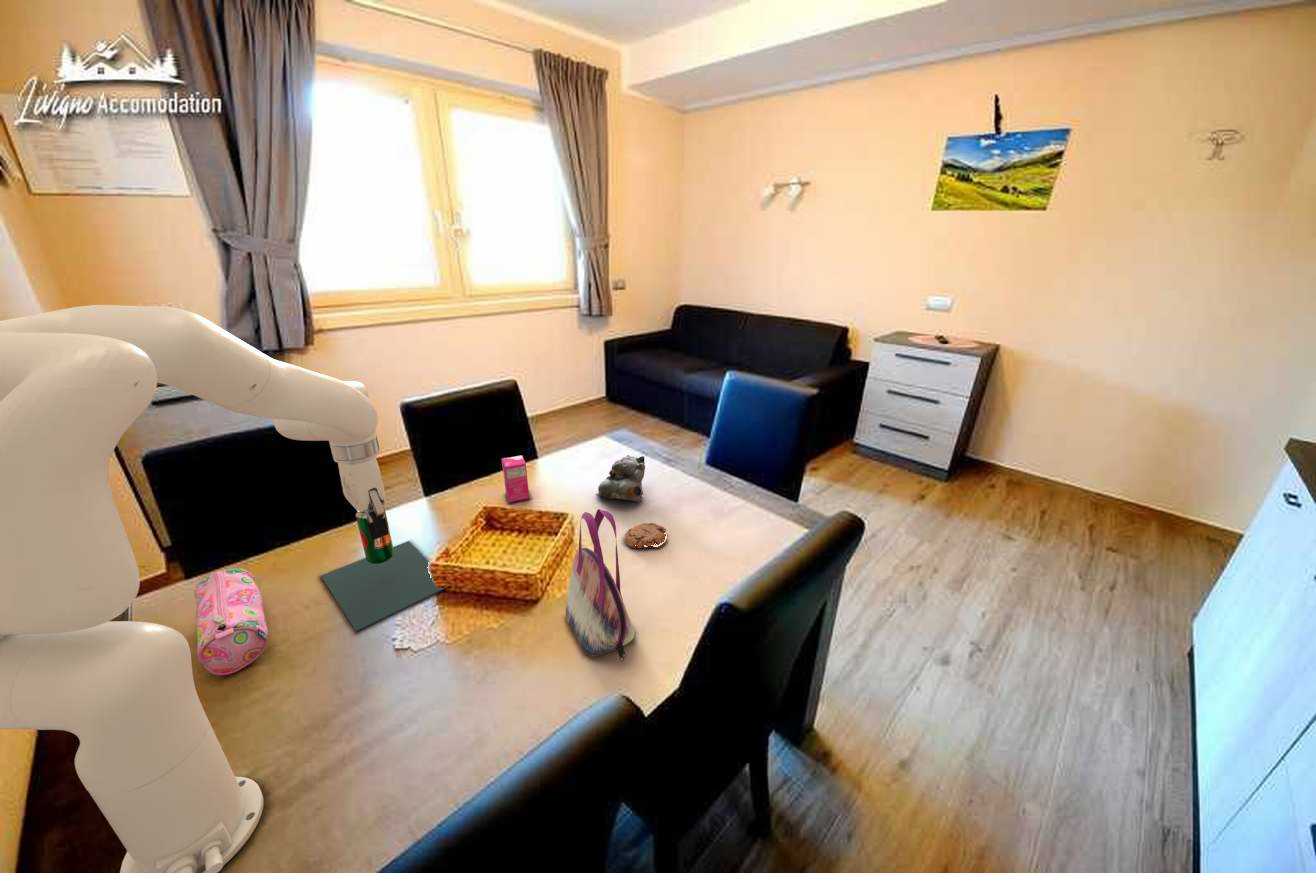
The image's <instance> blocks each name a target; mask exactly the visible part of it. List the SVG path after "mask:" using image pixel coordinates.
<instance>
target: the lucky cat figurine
mask: <svg viewBox="0 0 1316 873" xmlns="http://www.w3.org/2000/svg"><path fill="white" fill-rule="evenodd" d="M645 472H646V463H645V456H644V455H642V456H638V457H636V456H634V455H630V454H629V455H628V454H627V455H626V456H623V457H621V458H620V459H617V460H615V462H614V463H613V464H612V466H611V469H610V470H609V471H608V475H609V476H607V477H606V478H605V479H603V481H602V482H601V483H600V484H599V485H598V487H597V489H598V492H597V493H595V494H594V495H595V496H596V497H599V498H600V497H603V498H607V499H618V500H625V501H632V502H639V503H641V502H642V499H643V497H642V495H643V496H644V490H643V484H642V483H643V479H644V478H645Z"/></svg>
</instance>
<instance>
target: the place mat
mask: <svg viewBox="0 0 1316 873" xmlns="http://www.w3.org/2000/svg"><path fill="white" fill-rule="evenodd" d="M393 549H394V554H393V556H392V557H391V558H390V559H389V560H388V561H386V562H384V563H380V564H372V563H370V562H368V561H367V560H366V557H365V558H362V559H360V560H357V561H354V562H352V563H349V564H347V565H344V566H342V567H340V568H337V569H333V570H331V571H329V572H327V573H324V574H322V575H320V578H321V579H322V581H323V582H324V584H325V586H326V587H327V588H328V591H329V592H330V594H331V596H332V597H333V599H334V600H335V602H336V603H337V604H338V606H339V607H340V609H341V610H342V612H343V614H344V615H345V617H346V618H347V620H348V622H349V623H350V625H351V627H353V630H354V631H355V632H356V633H359V632H361V631H363V630H364V629H367V628H369V627H370V626H373V625H375V624H378V623H379V622H381V621H383V620H385V619H387V618H389V617H391V616H393V615H395V614H397V613H400V612H402V611H403V610H406V609H407V608H410V607H411V606H414V605H416V604H418V603H420V602H422V601H424V600H426V599H428V598H430V597H432V596H435V595H437V594H439V593H440V592H442V591H443V592H444V590H447V589H448V588H441V587H440V588H439V587H436V586H435V585H434V583H433V581H432V578H430V574H429V573H428V568H427V567H428V562H430V561H429V560H428V559H427V558H426V557H425V556H424V555H423V554H422V553H421V552H420V551H419V550H418V549H417V548H416V547H415V546H414V544H412V543H411V541H409V540H407V541H405V542H402V543H400V544H398V545H395V546H393Z"/></svg>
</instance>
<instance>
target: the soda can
mask: <svg viewBox="0 0 1316 873" xmlns="http://www.w3.org/2000/svg"><path fill="white" fill-rule="evenodd" d="M371 505H372V503H370V504H369V505H368V506H371ZM383 508H384V511H385V517H386V522H387V527H388V531H389V534H388V535H386V536H383V537H380V538H378V539H375V540H371V538H370V535H369V530H368V526H367V522H368V518H367V515H366V512H365V510H364V511H363V512H359V511H357V512H355V519H356V523H357V527H358V531H359V532H358V533H359V536H360V539H361V544H362V547H363V552H364V556H365V558H366V560H367V561H368V562H370V563H372V564H380V563H384V562H386V561H388V560H389V559H390V558H391V557H392V556H393V554H394V549H393V547H394V545H393V540H392V536H391V531H390V525H389V521H388V517H387V512H386V508H385V506H383ZM370 513H371V515H372V513H374V509H372V510H370Z"/></svg>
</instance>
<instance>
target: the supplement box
mask: <svg viewBox="0 0 1316 873" xmlns="http://www.w3.org/2000/svg"><path fill="white" fill-rule="evenodd" d="M501 464H502V465H501V466H502V473H503V481H504V489H505V495H506V497H507V501H508V503H509V504H513V503H520V502H525V501H530V499H531V498H530V491H529V490H530V489H529V481H528V480H529V479H528V471H527V462H526V460H525V459H524V456H523V455H517V456H516V455H515V456H511V457H503V458H501Z"/></svg>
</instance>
